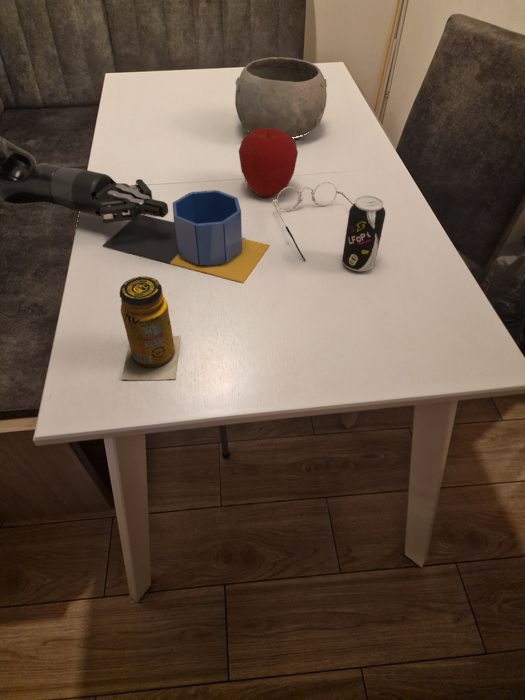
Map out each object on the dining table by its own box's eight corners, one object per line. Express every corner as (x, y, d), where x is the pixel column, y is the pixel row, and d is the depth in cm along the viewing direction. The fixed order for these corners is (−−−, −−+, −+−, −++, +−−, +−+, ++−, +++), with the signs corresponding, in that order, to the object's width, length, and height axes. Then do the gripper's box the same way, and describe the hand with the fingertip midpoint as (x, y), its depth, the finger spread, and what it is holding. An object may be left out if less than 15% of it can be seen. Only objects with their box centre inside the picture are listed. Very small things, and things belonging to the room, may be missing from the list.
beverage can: (379, 272, 83) (393, 209, 75) (347, 276, 82) (358, 213, 74) (367, 253, 87) (379, 191, 79) (337, 257, 86) (346, 195, 78)
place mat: (102, 246, 88) (102, 245, 88) (138, 215, 96) (138, 213, 96) (243, 283, 81) (243, 281, 81) (269, 246, 89) (269, 244, 88)
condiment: (180, 336, 72) (170, 270, 63) (175, 379, 66) (163, 313, 57) (131, 337, 72) (114, 271, 63) (121, 381, 66) (101, 314, 57)
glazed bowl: (180, 270, 83) (174, 227, 77) (177, 235, 90) (171, 193, 84) (244, 264, 84) (244, 221, 78) (236, 230, 92) (235, 188, 86)
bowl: (273, 158, 114) (274, 90, 104) (217, 128, 127) (213, 64, 116) (341, 134, 125) (349, 69, 114) (284, 108, 137) (286, 48, 126)
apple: (306, 197, 102) (311, 132, 92) (258, 211, 97) (258, 145, 88) (275, 174, 109) (277, 112, 99) (230, 186, 104) (227, 123, 95)
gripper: (54, 188, 82) (141, 208, 78) (100, 156, 91) (182, 173, 86) (66, 226, 87) (149, 248, 83) (109, 194, 96) (186, 211, 92)
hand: (165, 210), depth 85 cm, fingers closed
